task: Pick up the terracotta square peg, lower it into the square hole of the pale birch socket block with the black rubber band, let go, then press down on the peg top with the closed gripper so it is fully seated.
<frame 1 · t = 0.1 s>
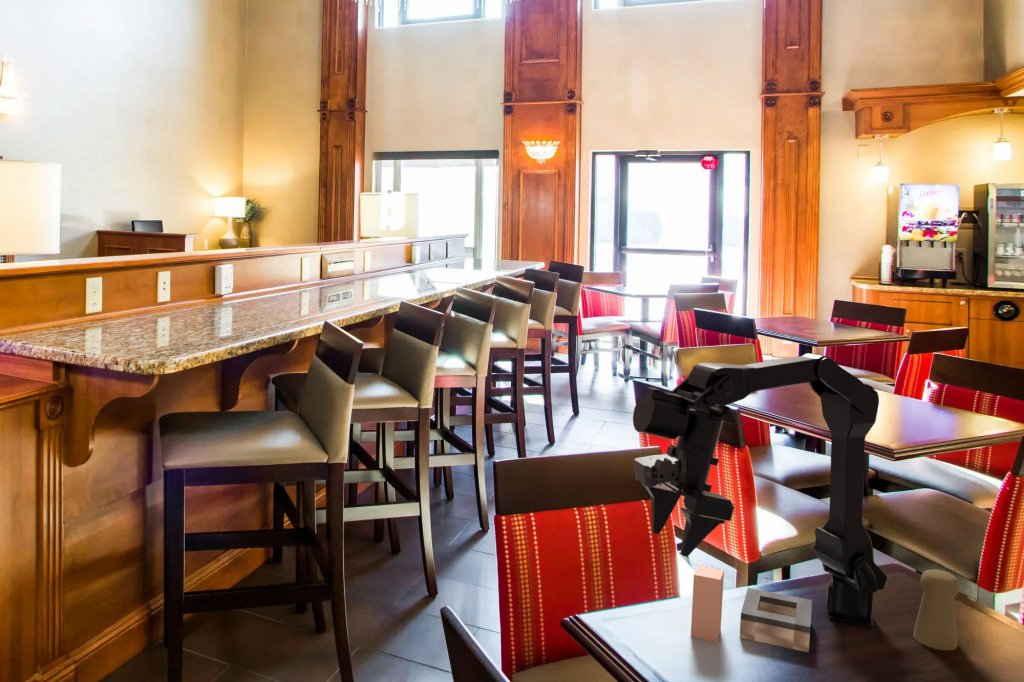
hand: (669, 544, 109), 15 cm above the table, tool pointing down, fingers open, 9 cm apart
socket block: (775, 630, 115), on the table
square peg: (705, 633, 114), on the table
beige pepper mill: (934, 641, 113), on the table
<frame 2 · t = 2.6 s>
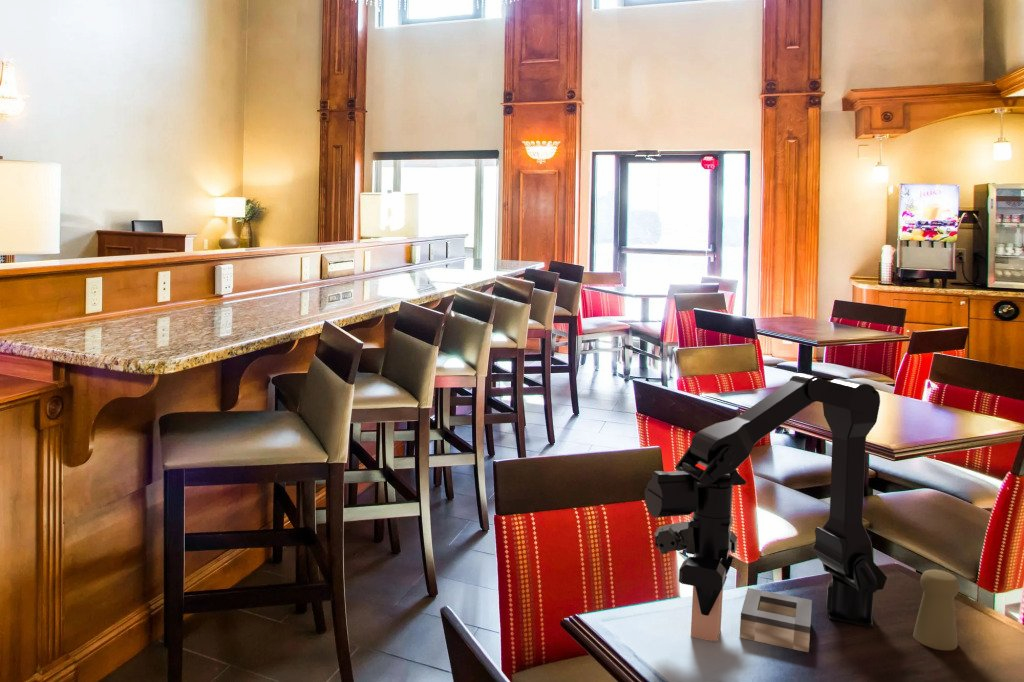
hand: (707, 608, 113), 4 cm above the table, tool pointing down, fingers closed on square peg, 4 cm apart
square peg: (705, 633, 114), on the table, touching gripper
everything else where it was.
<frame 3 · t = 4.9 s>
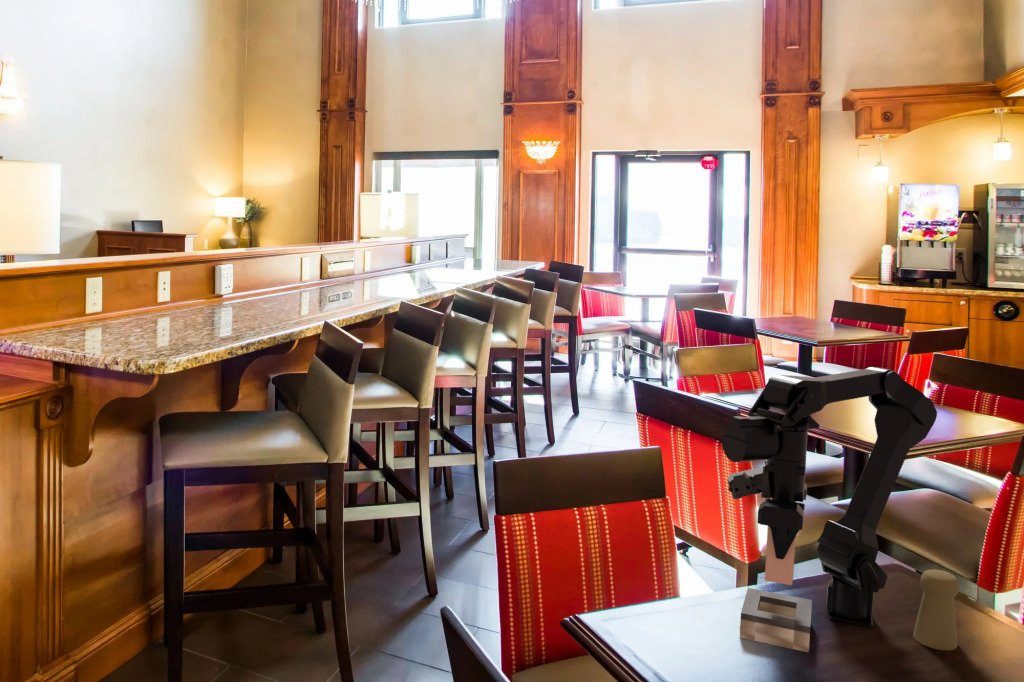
hand: (780, 553, 114), 13 cm above the table, tool pointing down, fingers closed on square peg, 4 cm apart
square peg: (779, 578, 114), point 9 cm above the table, touching gripper
everything else where it was.
when the fingers open (5 cm above the table, at t = 7.3 s): square peg drops 1 cm, on the table.
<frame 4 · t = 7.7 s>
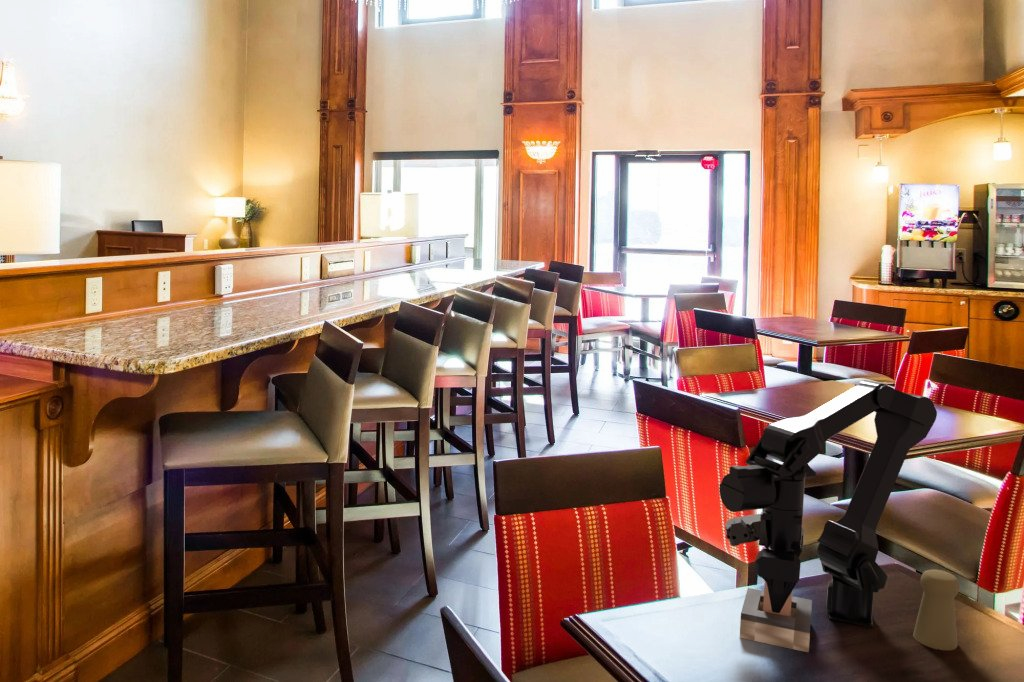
hand: (777, 600, 114), 5 cm above the table, tool pointing down, fingers open, 9 cm apart
square peg: (775, 630, 115), on the table
everything else where it was.
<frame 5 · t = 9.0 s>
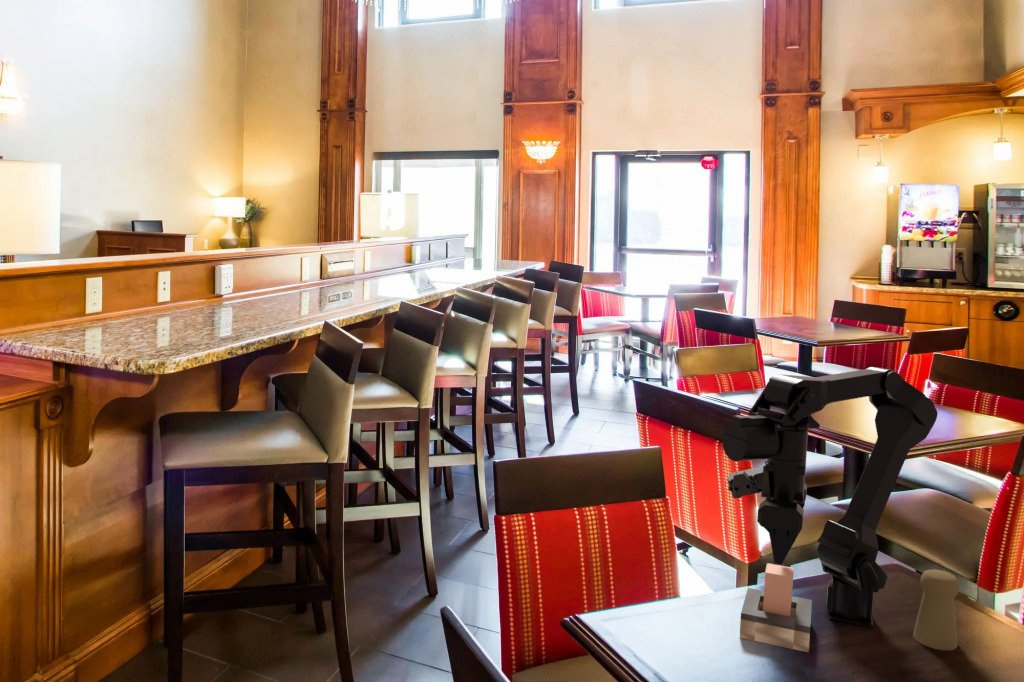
hand: (780, 553, 114), 13 cm above the table, tool pointing down, fingers open, 9 cm apart
nothing on the table moved.
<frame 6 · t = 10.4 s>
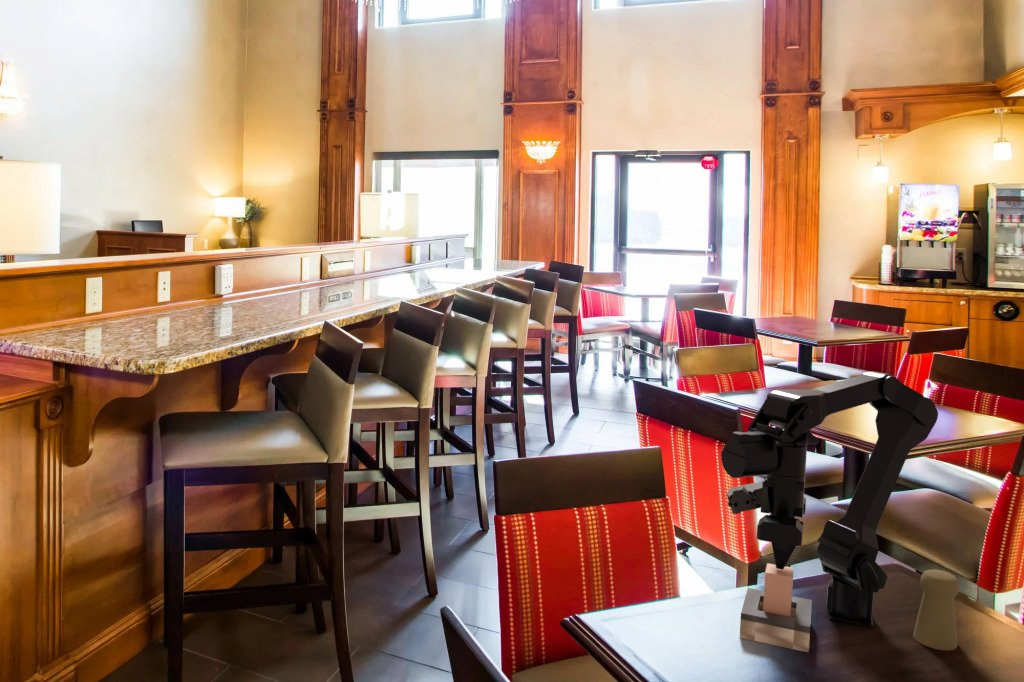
hand: (779, 568, 114), 10 cm above the table, tool pointing down, fingers closed
nothing on the table moved.
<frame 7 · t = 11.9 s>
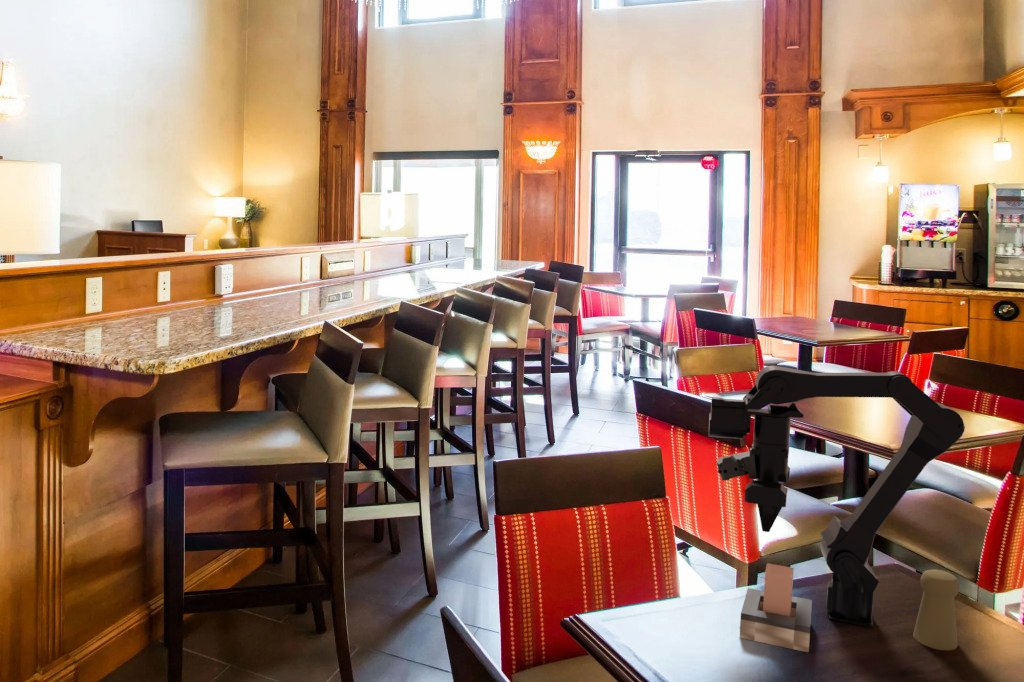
hand: (765, 531, 123), 13 cm above the table, tool pointing down, fingers closed
nothing on the table moved.
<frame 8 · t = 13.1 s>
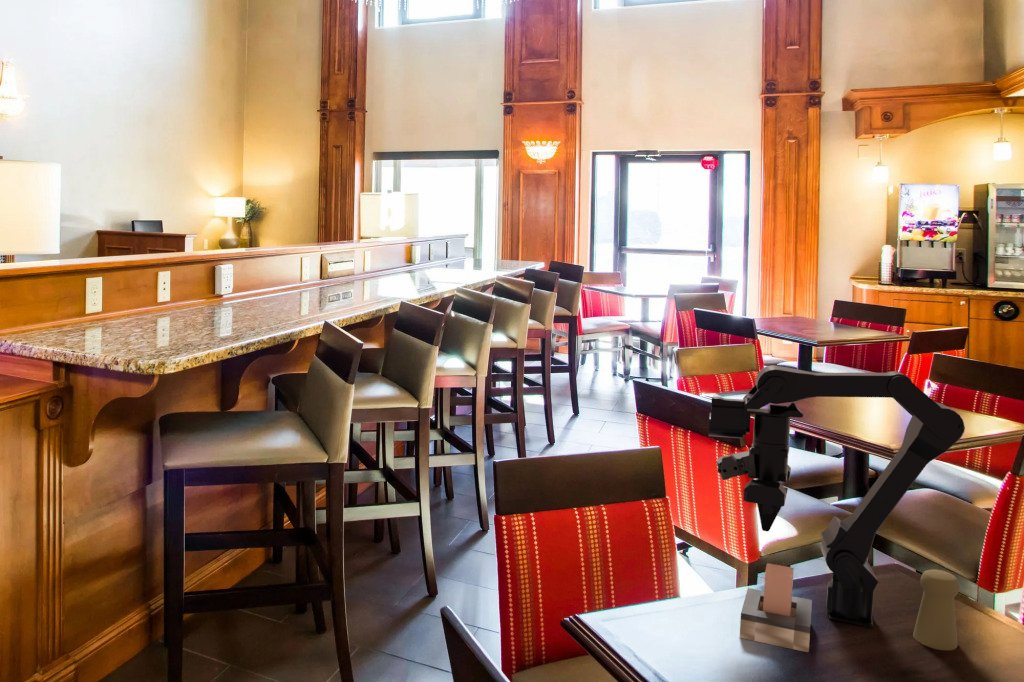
hand: (765, 530, 123), 13 cm above the table, tool pointing down, fingers closed
nothing on the table moved.
at the end: square peg 0.0 cm from the socket block (horizontally); square peg on the table; square peg tilted 0° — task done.
